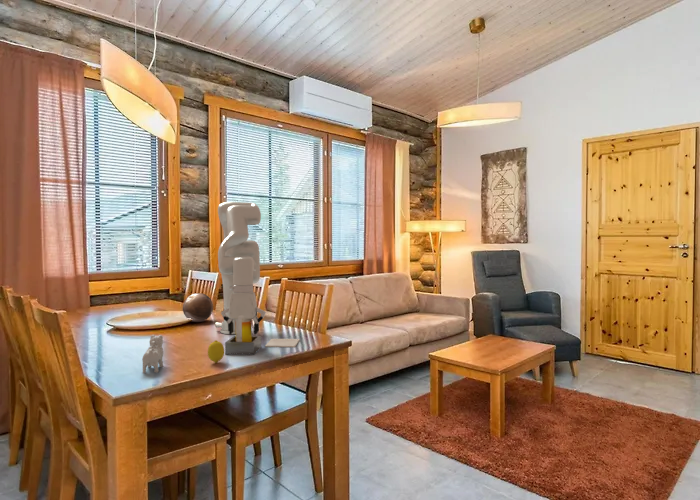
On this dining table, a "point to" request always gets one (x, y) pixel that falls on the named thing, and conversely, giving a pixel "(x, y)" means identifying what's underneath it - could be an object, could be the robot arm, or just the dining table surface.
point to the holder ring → (243, 346)
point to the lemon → (215, 351)
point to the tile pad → (282, 343)
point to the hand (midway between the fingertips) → (243, 333)
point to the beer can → (243, 329)
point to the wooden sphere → (198, 307)
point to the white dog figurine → (153, 354)
